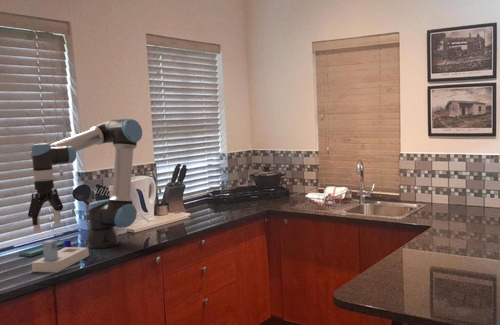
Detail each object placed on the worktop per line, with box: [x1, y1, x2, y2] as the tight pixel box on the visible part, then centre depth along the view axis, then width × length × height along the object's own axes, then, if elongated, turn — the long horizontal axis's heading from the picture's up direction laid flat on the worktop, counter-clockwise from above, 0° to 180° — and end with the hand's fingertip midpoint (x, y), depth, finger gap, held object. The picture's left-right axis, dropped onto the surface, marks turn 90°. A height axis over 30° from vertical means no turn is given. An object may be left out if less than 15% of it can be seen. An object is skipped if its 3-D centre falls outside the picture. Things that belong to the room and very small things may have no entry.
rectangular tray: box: [17, 239, 66, 258], centre depth 249 cm, size 26×9×2 cm, turn 156°
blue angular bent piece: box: [61, 239, 72, 249], centre depth 237 cm, size 12×4×6 cm, turn 141°
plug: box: [42, 239, 58, 262], centre depth 210 cm, size 4×5×12 cm
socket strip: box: [31, 246, 90, 274], centre depth 218 cm, size 24×12×5 cm, turn 166°
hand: (47, 228), depth 209 cm, fingers open, 13 cm apart
